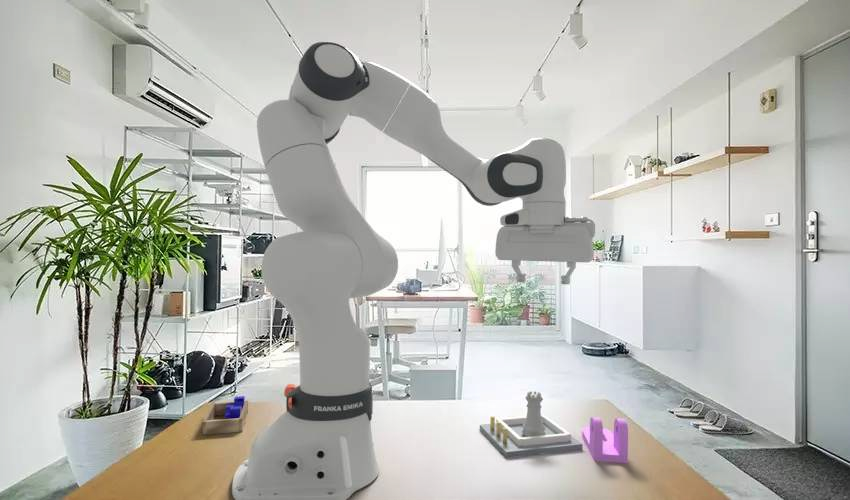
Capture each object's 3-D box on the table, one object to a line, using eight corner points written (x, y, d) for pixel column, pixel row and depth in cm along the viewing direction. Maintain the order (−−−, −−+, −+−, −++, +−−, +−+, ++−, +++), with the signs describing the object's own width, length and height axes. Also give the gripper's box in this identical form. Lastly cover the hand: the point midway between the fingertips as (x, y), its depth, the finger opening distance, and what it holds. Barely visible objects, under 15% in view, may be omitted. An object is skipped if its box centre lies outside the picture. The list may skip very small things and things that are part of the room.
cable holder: (227, 415, 105) (227, 397, 105) (244, 414, 106) (244, 396, 106) (221, 429, 97) (221, 409, 97) (240, 428, 98) (240, 408, 98)
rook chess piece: (526, 428, 96) (527, 388, 96) (548, 433, 93) (549, 392, 93) (518, 436, 92) (518, 394, 92) (541, 441, 90) (541, 398, 90)
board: (506, 457, 85) (506, 437, 85) (479, 429, 98) (479, 412, 98) (582, 449, 89) (582, 430, 89) (547, 423, 102) (547, 406, 101)
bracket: (627, 463, 84) (628, 423, 84) (594, 461, 84) (594, 421, 84) (608, 434, 97) (609, 399, 97) (579, 432, 97) (580, 397, 97)
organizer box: (202, 434, 94) (202, 422, 94) (212, 414, 105) (212, 403, 105) (242, 431, 96) (242, 418, 96) (248, 412, 106) (248, 400, 106)
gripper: (597, 217, 100) (596, 284, 101) (502, 218, 110) (502, 279, 110) (592, 215, 95) (591, 286, 95) (493, 217, 105) (492, 281, 105)
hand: (542, 283), depth 103 cm, fingers open, 8 cm apart
